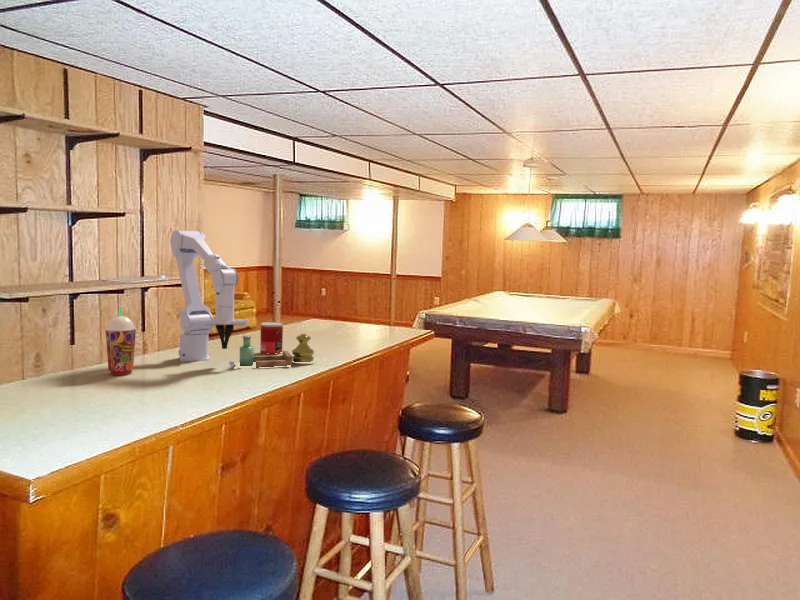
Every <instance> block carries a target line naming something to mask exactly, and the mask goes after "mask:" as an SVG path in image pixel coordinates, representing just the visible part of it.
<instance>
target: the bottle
mask: <svg viewBox="0 0 800 600" xmlns="http://www.w3.org/2000/svg"><path fill="white" fill-rule="evenodd" d="M251 338H252V336H251V335H242V340H243V342H242V343H243V344H242V345H241V346H239V362H240V366H252V365H253V358H254V356H255V355H254V349H255V346H252V345H251Z"/></svg>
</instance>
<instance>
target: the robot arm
mask: <svg viewBox="0 0 800 600" xmlns="http://www.w3.org/2000/svg"><path fill="white" fill-rule="evenodd" d="M169 242H170V248H171V252H172V256H173V257H174V258H175V261H176V264H177V269H178V275H179V279H180V284H181V289H182V293H183V298H184V303H185V307H184V308H183V309H182V310H181V311H180V312H179V317H180V318H179V319H180V321H179V325H180V328H181V330H182V332H183V333H179V350H178V356H179V362H196V361H197V362H200V361H210V360H211V358H210V354H209V334H210V333H211V331H212V330H213V328H214V327H215V328H216V331H217V333H218V336H219V338H220V343H221V349H222V350H227V349H228V344H229V340H230V338H231V335H232V333H233V330H234V329H235V328H234V327H249V319H243V318H242V319H238V318H237V319H236V318H235V287H236V286H237V285H238V283H239V273H238V272H237V269H235V268H231V267H229V266H228V265H227V264H226V263H225V262H224V260H223V259H222V258H221V256H220V254H216V253H213V252H212V250H211V249H210V247H209V246H208V244H207V243H206V235H205V234H204V233H203V232H202V231H201V230H180V229H174V230H173V232H172V233H171V236H170V239H169ZM197 257H200V258H201V259H202V260H203V267H204V268H205V269H206V270H207V272H208V273H209V274H210V276H211V282H212V284H213V290H214V293H215V317H214V316H213V314H212V313H211V308H210V307H209V306H207V305H205V304H204V303H203V301H202V297H201V294H200V293H201V292H200V288H199V284H198V280H197V275H196V270H195V265H194V259H195V258H197Z"/></svg>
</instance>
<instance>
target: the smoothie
mask: <svg viewBox="0 0 800 600" xmlns="http://www.w3.org/2000/svg"><path fill="white" fill-rule="evenodd" d="M104 329H105V342H106V353H107V354H106V355H107V356H106V357H107V368H108V371H109V374H110V375H113V376H126V375H130V374H132V372H133V371H132V370H133V369H134V366H135V365H134V364H135V350H136V349H135V348H136V332H137V331H136V330H137V327H136V326H135V324H134V322H133V320H132V319H131V318H130V317H128V316H124V315H123V307H122V306H119V315H117V316H115V317H113V318H111V319H110V320H109V321H108V323H107V326H106V327H105V328H104Z"/></svg>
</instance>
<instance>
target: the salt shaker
mask: <svg viewBox="0 0 800 600" xmlns="http://www.w3.org/2000/svg"><path fill="white" fill-rule="evenodd" d="M295 338H296V340H297V341H298V343H299V344H298V345H297V346H296V347H294V348H293V349H292V351H291V352H292V354H291V356H292V355H293V356H292V361H294V362H311V361H313V360H314V358H315V357H314V354H315V350H314V349H313V348H311V346H309V344H308V342H310V340H311V339H312V336H309V335H308V334H306V333H301V334H300V335H297V336H296V337H295ZM314 361H315V360H314Z"/></svg>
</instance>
